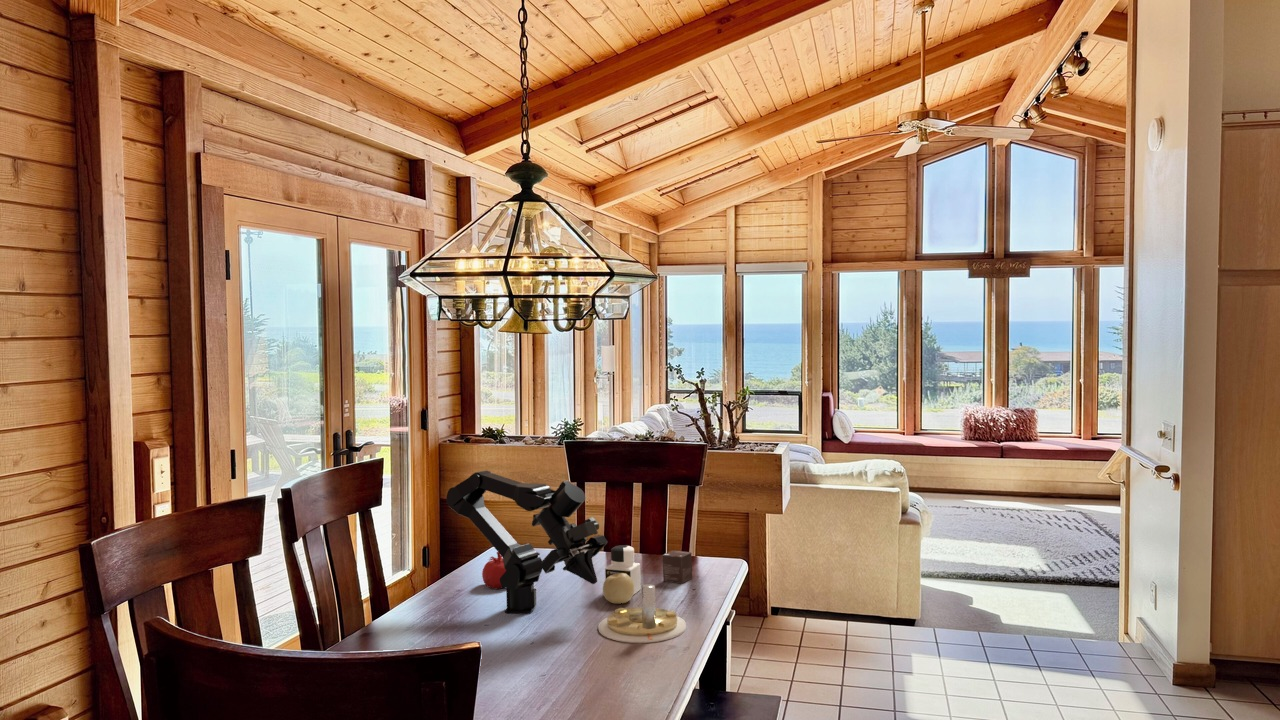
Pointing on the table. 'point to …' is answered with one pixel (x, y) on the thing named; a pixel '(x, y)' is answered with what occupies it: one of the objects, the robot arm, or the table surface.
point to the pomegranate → (493, 572)
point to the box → (677, 566)
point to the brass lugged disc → (643, 617)
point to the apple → (618, 588)
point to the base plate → (642, 639)
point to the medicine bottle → (624, 565)
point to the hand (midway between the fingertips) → (595, 582)
